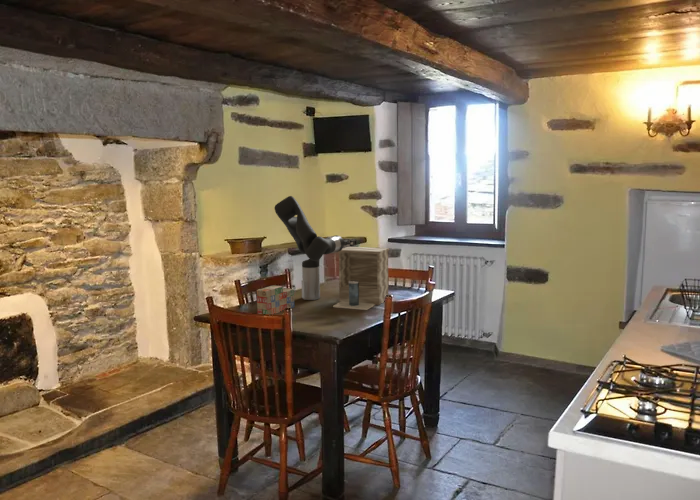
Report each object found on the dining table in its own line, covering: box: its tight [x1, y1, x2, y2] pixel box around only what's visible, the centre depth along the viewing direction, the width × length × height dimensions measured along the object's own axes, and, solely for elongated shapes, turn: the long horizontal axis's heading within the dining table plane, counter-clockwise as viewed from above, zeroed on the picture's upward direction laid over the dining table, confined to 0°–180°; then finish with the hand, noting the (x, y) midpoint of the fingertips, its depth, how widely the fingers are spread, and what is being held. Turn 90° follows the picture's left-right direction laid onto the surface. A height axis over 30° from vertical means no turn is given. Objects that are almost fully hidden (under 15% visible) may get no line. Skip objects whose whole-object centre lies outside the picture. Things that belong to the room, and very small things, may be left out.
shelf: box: [337, 246, 390, 306], centre depth 297 cm, size 15×23×27 cm, turn 67°
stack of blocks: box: [256, 285, 295, 315], centre depth 278 cm, size 21×6×12 cm, turn 149°
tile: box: [332, 301, 375, 311], centre depth 286 cm, size 11×18×1 cm, turn 67°
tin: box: [349, 280, 359, 306], centre depth 285 cm, size 5×5×12 cm
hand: (346, 240), depth 274 cm, fingers open, 8 cm apart
